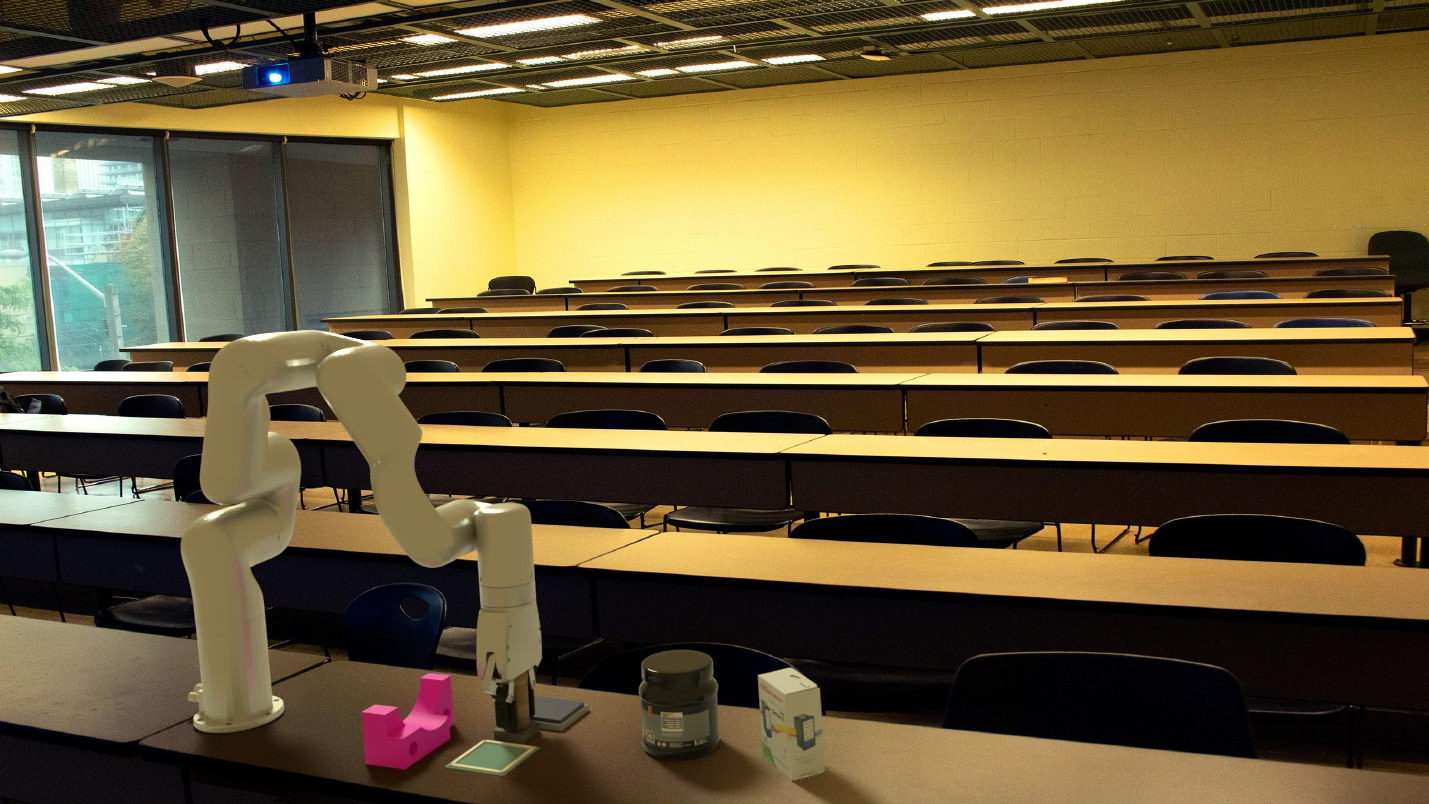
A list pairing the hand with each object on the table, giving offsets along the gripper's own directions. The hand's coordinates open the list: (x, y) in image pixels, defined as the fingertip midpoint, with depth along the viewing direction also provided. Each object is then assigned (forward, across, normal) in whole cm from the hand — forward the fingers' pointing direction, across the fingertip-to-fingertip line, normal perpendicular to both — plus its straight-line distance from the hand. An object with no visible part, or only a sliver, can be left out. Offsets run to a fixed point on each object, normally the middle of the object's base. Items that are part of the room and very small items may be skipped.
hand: (515, 720), depth 157 cm
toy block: (+3, +6, -12) cm, 14 cm away
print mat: (+2, +8, +1) cm, 8 cm away
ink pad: (+2, -7, +1) cm, 7 cm away
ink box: (+3, -2, +40) cm, 40 cm away
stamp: (+2, 0, 0) cm, 2 cm away
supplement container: (+3, -3, +24) cm, 24 cm away
